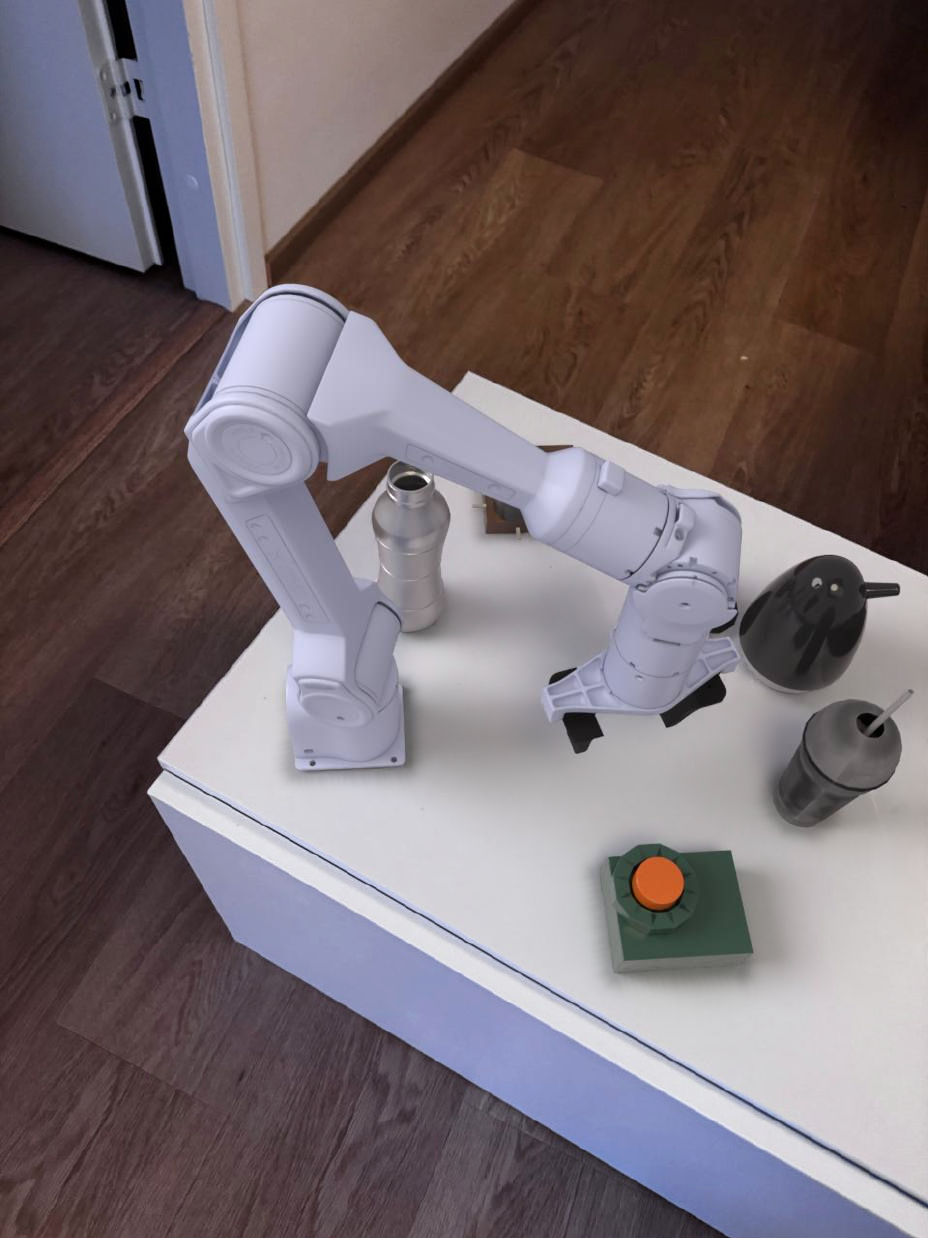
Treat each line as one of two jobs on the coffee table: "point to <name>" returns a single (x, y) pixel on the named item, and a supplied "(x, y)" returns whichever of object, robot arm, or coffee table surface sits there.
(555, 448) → the control panel
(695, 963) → the button box
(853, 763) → the beverage cup
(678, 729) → the coffee table surface
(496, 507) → the knob
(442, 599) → the metal bottle
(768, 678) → the black bird figure
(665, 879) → the button
